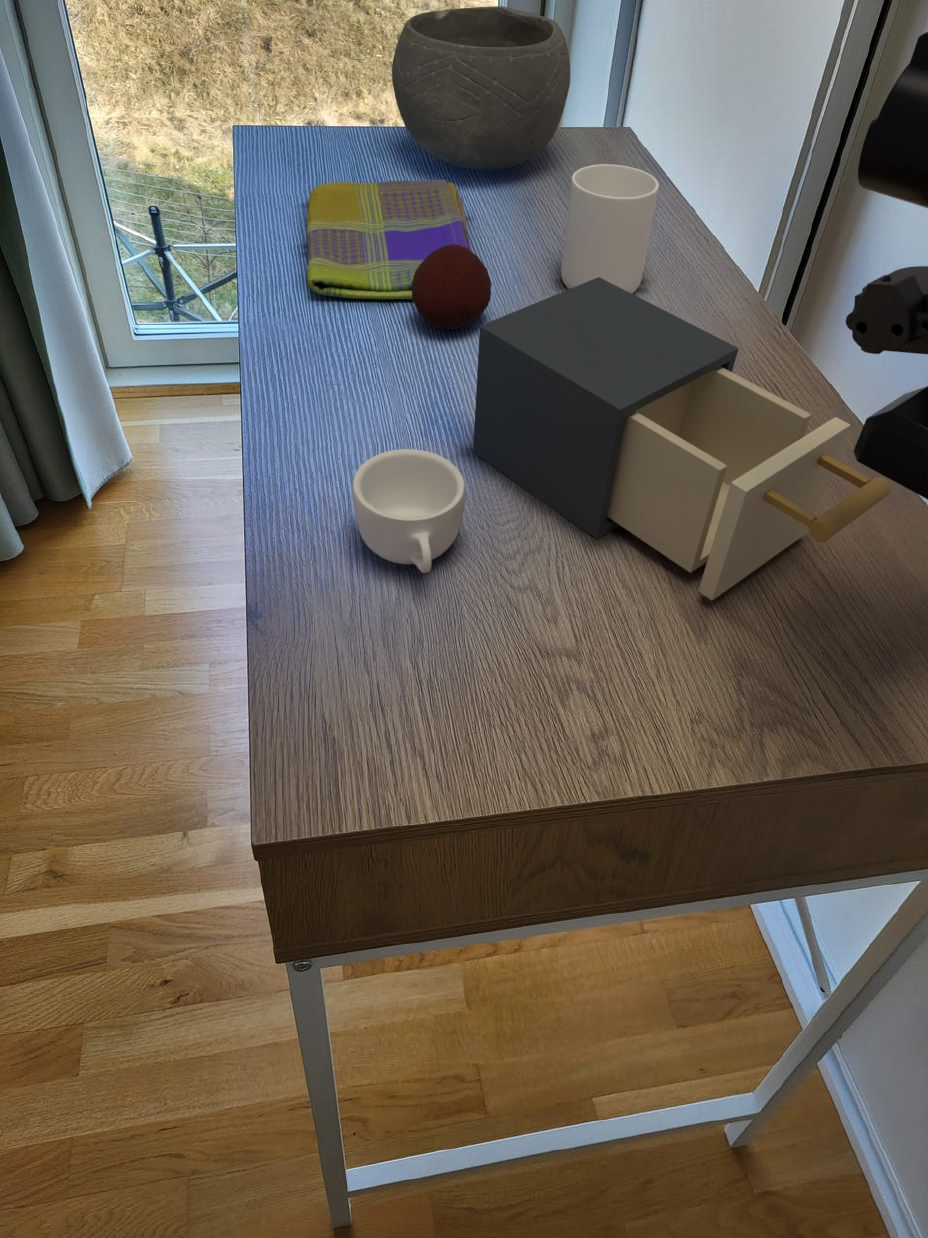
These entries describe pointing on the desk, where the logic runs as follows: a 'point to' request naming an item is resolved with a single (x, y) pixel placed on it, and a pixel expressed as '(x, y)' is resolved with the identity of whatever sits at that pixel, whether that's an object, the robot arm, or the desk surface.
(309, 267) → the dish towel
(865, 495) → the drawer
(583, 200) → the cup
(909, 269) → the robot arm
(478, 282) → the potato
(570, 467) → the cabinet
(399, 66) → the bowl
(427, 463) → the teacup
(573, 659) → the desk surface
